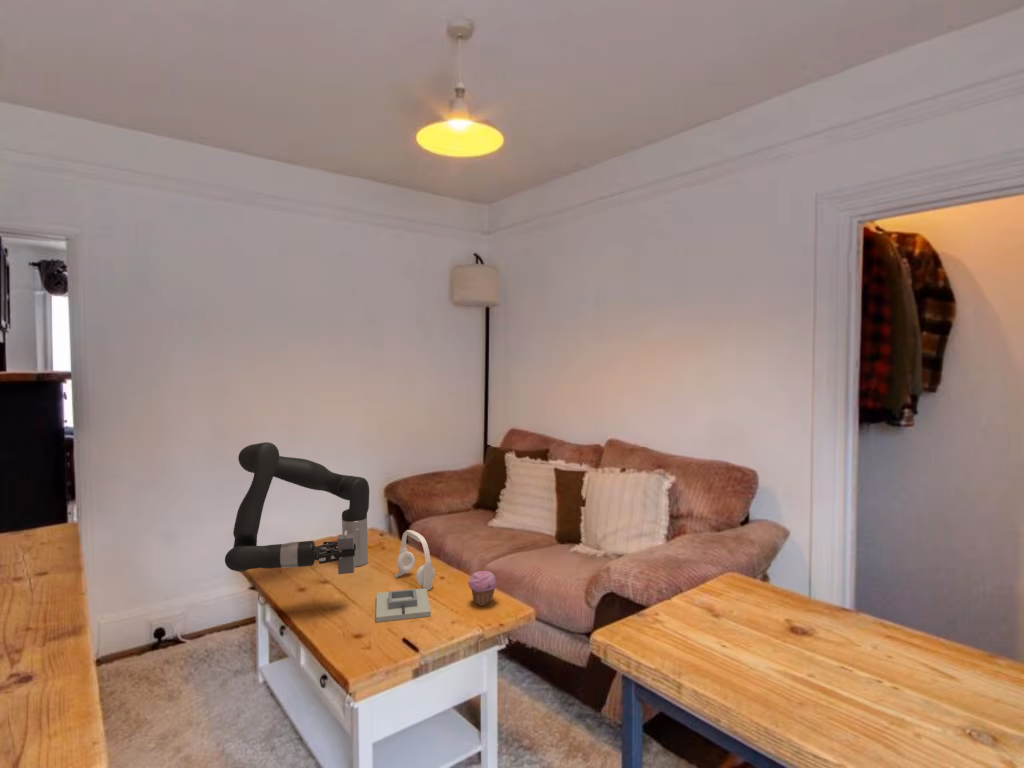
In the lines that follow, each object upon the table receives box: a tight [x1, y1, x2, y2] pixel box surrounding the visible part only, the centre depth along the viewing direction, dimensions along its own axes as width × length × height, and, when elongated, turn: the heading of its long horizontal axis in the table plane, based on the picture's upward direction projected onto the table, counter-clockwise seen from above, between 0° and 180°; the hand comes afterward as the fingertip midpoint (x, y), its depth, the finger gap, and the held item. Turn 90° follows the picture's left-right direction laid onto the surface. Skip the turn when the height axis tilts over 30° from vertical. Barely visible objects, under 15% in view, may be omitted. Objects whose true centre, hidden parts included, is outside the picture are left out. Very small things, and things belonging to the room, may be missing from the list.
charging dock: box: [375, 587, 432, 623], centre depth 178 cm, size 18×16×4 cm
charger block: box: [336, 531, 356, 575], centre depth 178 cm, size 5×5×12 cm
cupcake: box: [468, 570, 497, 607], centre depth 180 cm, size 9×9×10 cm
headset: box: [394, 529, 436, 591], centre depth 197 cm, size 20×7×18 cm, turn 36°
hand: (354, 549), depth 179 cm, fingers closed on charger block, 4 cm apart
